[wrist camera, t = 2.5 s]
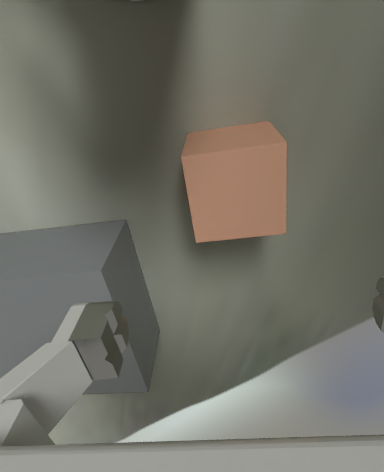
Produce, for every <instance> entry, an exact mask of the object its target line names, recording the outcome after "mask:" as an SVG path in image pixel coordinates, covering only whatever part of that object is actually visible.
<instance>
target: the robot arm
mask: <svg viewBox="0 0 384 472" xmlns="http://www.w3.org/2000/svg"><path fill="white" fill-rule="evenodd" d="M376 289H377V290H378V292H379V293H380V294H379V295H378V296H377V297H376V298H375V299H374V302H373V314H374V318H375V321H376V323H377V325H378V327H379V328H380V330H381V331H383V332H384V278H380V279H379V281H378V282H377V287H376ZM122 310H123V309H122V307H121V304H120V302H118V301H107V302H91V303H80V304H74V305H72V306H71V307H70V309H69V311H68V313H67V315H66V317H65V318H64V320H63V322H62V324H61V326H60V327H59V329H58V331H57V333H56V335H55V336H54V338H53V340H52V342H51V343H46V344H45V345H43V346H42V347H41V348H39V349H38V350H37V351H35V352H34V353H33V354H32V355H30V356H29V357H28V358H26V359H25V360H24V361H22V362H21V363H20V364H19V365H17V366H16V367H15V368H13V369H12V370H11V371H9V372H8V373H7V374H6V375H4V376H3V377H2V378H0V472H384V435H357V436H356V435H355V436H323V437H293V438H291V437H290V438H263V439H262V438H259V439H227V440H196V441H165V442H133V443H132V442H131V443H98V444H65V445H55V444H54V442H53V441H52V440H51V438H50V437H49V436H48V434H49V433H50V432H51V430H52V429H53V428H54V427H55V426H56V424H57V423H58V422H59V421H60V420H61V419H62V417H63V416H64V415H65V414H66V413H67V411H68V410H69V409H70V408H71V407H72V406H73V404H74V403H75V402H76V401H77V400H78V398H79V397H80V396H81V395H82V394H83V393H84V391H85V390H86V389H87V388H88V387H89V385H90V384H91V383H92V382H93V381H92V380H100V379H112V378H118V377H119V374H120V370H121V367H122V363H123V360H124V359H123V357H122V354H121V353H122V352H123V351H124V350H125V349H126V348H127V345H128V341H129V327H128V323H127V320H126V319H125V318H124V317H123V316H121V313H122Z"/></svg>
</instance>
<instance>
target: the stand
mask: <svg viewBox="0 0 384 472" xmlns="http://www.w3.org/2000/svg"><path fill="white" fill-rule="evenodd" d="M107 301H118V302H120V304H121V307H122V309H123V310H122V313H121V316H123V317H124V318H125V319H126V320H127V323H128V327H129V341H128V345H127V348H126V349H125V350H124V351H123V352H122V353H121V354H122V357H123V359H124V360H123V363H122V367H121V370H120V374H119V377H118V378H112V379H100V380H92V381H93V382H92V383H91V384H90V385H89V387H88V388H87V389H86V390H85V391H84V393H83V394H107V393H134V392H149V386H150V381H151V375H152V370H153V365H154V359H155V354H156V348H157V343H158V337H159V332H160V330H159V327H158V323H157V320H156V317H155V313H154V310H153V307H152V303H151V300H150V297H149V294H148V290H147V287H146V284H145V280H144V277H143V274H142V271H141V267H140V264H139V261H138V257H137V254H136V251H135V248H134V244H133V241H132V238H131V234H130V231H129V228H128V224H127V221H126V220H120V221H111V222H102V223H93V224H84V225H75V226H66V227H57V228H48V229H40V230H31V231H22V232H13V233H4V234H0V378H2V377H3V376H4V375H6V374H7V373H8V372H9V371H11V370H12V369H13V368H15V367H16V366H17V365H19V364H20V363H21V362H22V361H24V360H25V359H26V358H28V357H29V356H30V355H32V354H33V353H34V352H35V351H37V350H38V349H39V348H41V347H42V346H43V345H45V344H46V343H51V342H52V340H53V338H54V336H55V335H56V333H57V331H58V329H59V327H60V326H61V324H62V322H63V320H64V318H65V317H66V315H67V313H68V311H69V309H70V307H71V306H72V305H74V304H80V303H91V302H107Z"/></svg>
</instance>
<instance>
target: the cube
mask: <svg viewBox="0 0 384 472" xmlns="http://www.w3.org/2000/svg"><path fill="white" fill-rule="evenodd" d="M181 160H182V166H183V172H184V177H185V183H186V189H187V194H188V200H189V206H190V211H191V217H192V223H193V228H194V234H195V240H196V243H199V242H209V241H219V240H229V239H239V238H248V237H258V236H268V235H278V234H286V184H287V142H286V140H285V139H284V138H283V137H282V136H281V134H280V133H279V132H278V131H277V130H276V128H275V127H274V126H273V125H272V124H271V122H270V121H265V122H259V123H252V124H245V125H238V126H232V127H225V128H218V129H211V130H205V131H198V132H191V133H187V137H186V140H185V144H184V147H183V151H182V155H181Z"/></svg>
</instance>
